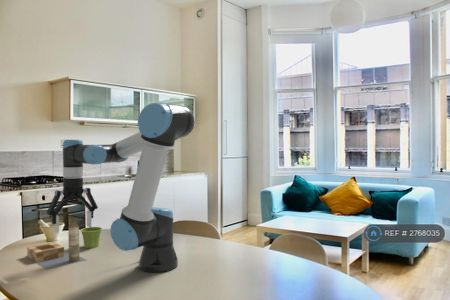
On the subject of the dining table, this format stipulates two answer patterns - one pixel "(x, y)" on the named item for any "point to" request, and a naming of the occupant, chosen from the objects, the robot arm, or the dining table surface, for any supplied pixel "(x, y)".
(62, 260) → the mat
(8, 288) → the dining table surface
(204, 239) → the dining table surface
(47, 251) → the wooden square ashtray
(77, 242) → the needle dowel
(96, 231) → the plant pot
